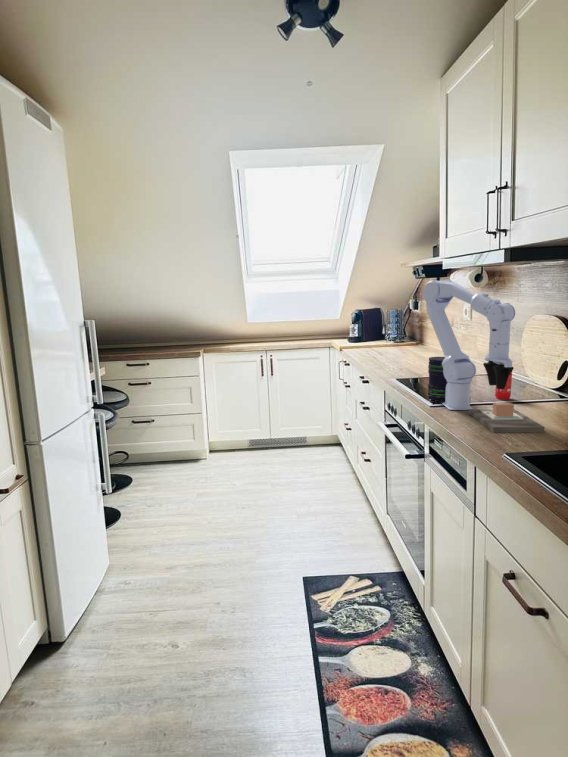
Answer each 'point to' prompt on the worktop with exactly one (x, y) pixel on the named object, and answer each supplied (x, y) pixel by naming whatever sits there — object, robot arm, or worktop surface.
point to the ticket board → (506, 422)
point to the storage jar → (436, 379)
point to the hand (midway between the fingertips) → (496, 386)
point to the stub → (503, 412)
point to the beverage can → (504, 390)
